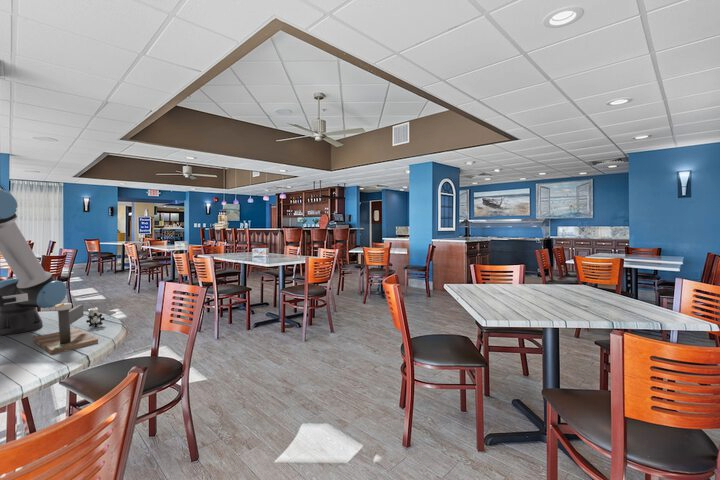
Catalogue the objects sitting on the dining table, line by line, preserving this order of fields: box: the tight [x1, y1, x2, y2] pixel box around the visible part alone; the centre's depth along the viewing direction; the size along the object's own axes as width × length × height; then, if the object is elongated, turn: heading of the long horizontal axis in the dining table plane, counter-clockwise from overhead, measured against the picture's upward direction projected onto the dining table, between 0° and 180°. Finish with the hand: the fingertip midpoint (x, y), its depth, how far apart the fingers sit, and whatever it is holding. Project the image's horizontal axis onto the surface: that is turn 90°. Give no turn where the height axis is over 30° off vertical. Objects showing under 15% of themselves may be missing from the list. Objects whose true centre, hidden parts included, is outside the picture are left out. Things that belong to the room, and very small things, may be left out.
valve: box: [85, 307, 105, 328], centre depth 158 cm, size 7×7×12 cm
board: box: [32, 327, 99, 355], centre depth 135 cm, size 24×14×2 cm, turn 55°
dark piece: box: [54, 302, 84, 343], centre depth 135 cm, size 22×5×15 cm, turn 21°
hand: (27, 296), depth 129 cm, fingers closed
